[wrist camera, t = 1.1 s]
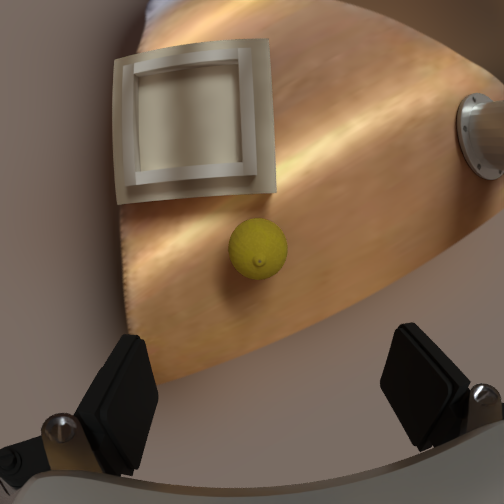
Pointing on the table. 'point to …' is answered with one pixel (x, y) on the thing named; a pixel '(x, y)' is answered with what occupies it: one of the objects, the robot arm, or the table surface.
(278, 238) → the lemon
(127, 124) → the stand
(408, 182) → the table surface
